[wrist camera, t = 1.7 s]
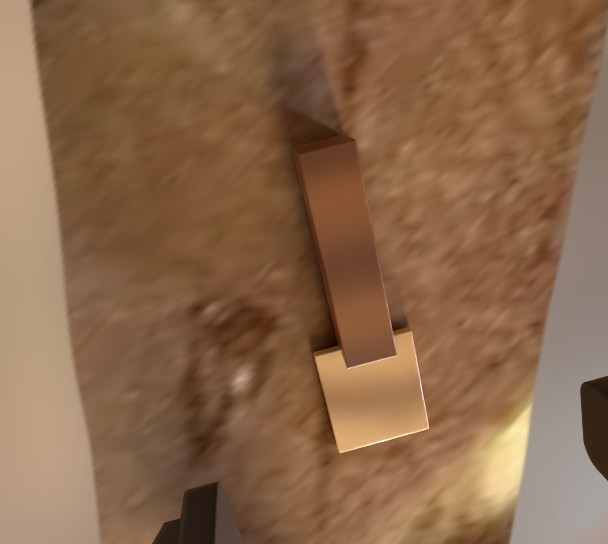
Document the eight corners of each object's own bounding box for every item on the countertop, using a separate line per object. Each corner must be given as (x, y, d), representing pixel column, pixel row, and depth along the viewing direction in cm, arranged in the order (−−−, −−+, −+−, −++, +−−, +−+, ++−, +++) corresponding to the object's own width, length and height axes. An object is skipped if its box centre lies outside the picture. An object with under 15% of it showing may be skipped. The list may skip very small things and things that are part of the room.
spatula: (262, 154, 24) (265, 162, 21) (372, 126, 24) (387, 131, 21) (337, 447, 29) (346, 479, 27) (426, 423, 29) (442, 452, 27)
